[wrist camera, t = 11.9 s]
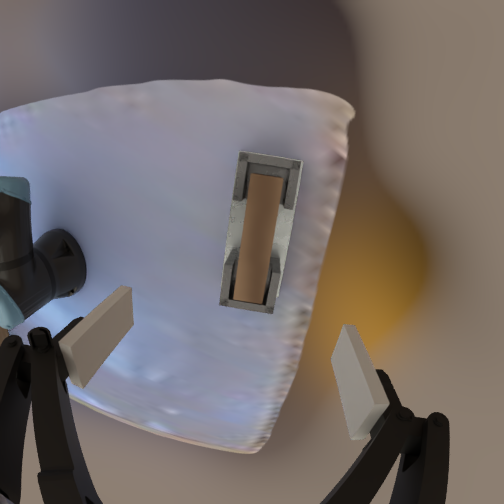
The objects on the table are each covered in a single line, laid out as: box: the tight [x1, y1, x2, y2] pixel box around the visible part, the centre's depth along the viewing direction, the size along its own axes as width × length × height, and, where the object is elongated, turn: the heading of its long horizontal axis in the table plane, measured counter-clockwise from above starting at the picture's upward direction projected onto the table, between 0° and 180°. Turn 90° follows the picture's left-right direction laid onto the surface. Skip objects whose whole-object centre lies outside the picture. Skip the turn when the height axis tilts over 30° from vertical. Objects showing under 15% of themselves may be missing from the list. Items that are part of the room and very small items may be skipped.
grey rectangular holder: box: [219, 151, 303, 314], centre depth 40 cm, size 10×23×8 cm, turn 171°
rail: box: [233, 173, 284, 304], centre depth 38 cm, size 4×17×6 cm, turn 172°
